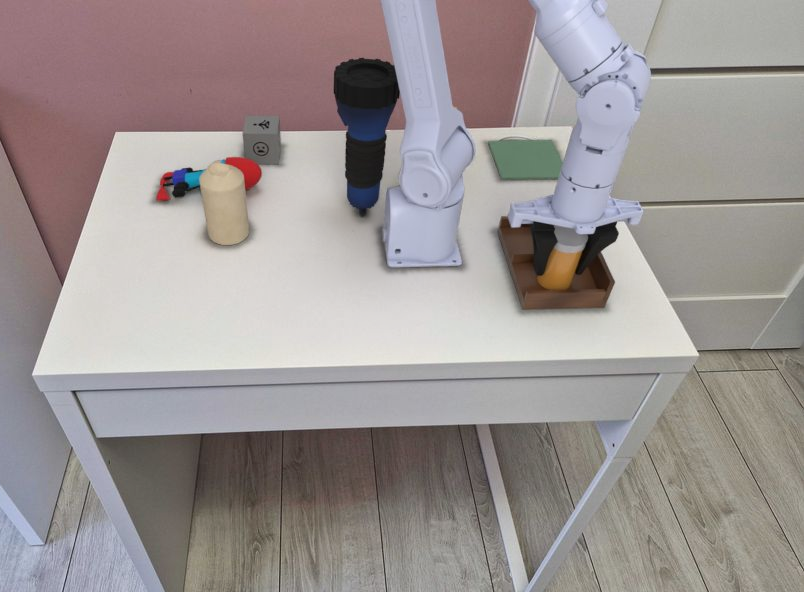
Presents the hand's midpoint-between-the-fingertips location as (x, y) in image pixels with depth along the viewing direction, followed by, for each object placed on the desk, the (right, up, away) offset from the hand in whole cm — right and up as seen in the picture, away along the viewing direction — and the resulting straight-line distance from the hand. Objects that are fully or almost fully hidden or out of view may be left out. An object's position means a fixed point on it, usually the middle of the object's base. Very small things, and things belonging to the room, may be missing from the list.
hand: (556, 269), depth 84 cm
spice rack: (0, +1, +5) cm, 5 cm away
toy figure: (-44, +13, +15) cm, 49 cm away
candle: (-41, +6, +9) cm, 42 cm away
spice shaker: (0, -1, +1) cm, 2 cm away
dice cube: (-38, +20, +21) cm, 48 cm away
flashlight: (-23, +9, +12) cm, 28 cm away
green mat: (+2, +19, +21) cm, 28 cm away
